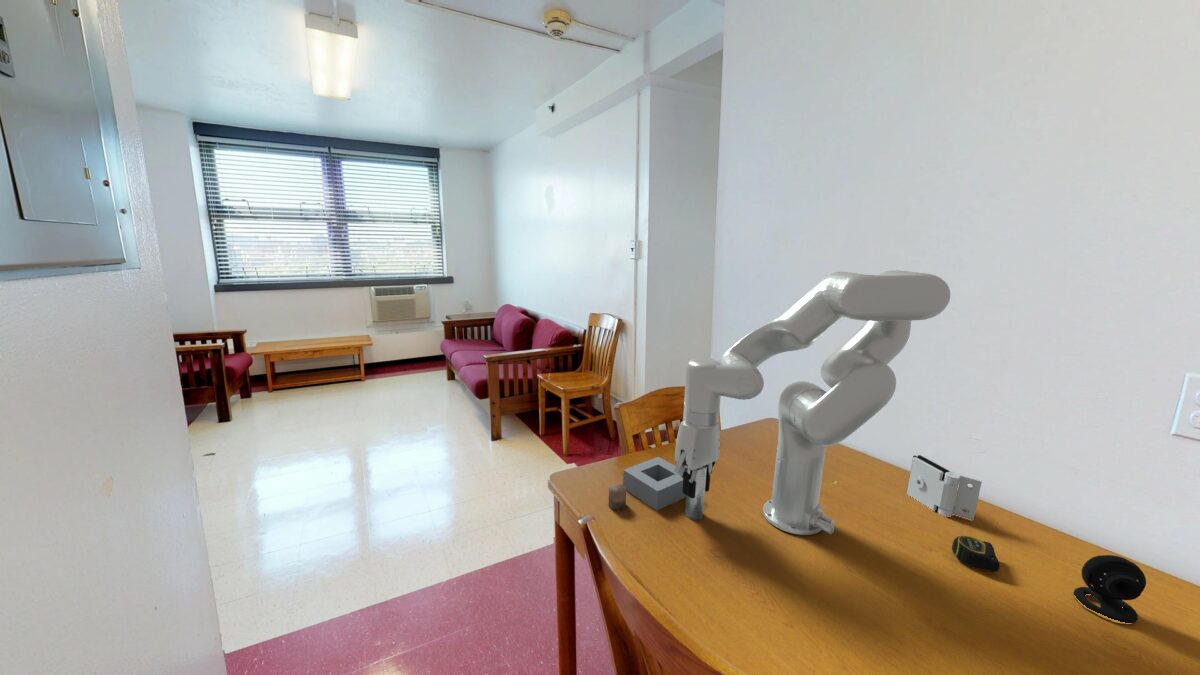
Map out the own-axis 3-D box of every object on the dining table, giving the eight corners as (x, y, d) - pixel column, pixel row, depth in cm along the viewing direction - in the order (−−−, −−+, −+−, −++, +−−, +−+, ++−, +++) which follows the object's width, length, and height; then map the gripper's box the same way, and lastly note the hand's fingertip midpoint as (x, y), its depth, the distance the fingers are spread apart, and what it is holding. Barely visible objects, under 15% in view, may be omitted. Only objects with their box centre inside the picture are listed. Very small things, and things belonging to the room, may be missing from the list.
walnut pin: (629, 506, 105) (629, 489, 104) (615, 512, 103) (616, 494, 102) (618, 498, 108) (618, 481, 107) (605, 504, 106) (605, 487, 105)
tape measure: (997, 579, 85) (1002, 562, 84) (952, 564, 88) (955, 548, 87) (991, 558, 90) (995, 542, 89) (948, 545, 94) (952, 529, 93)
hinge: (975, 521, 102) (983, 481, 100) (960, 526, 100) (969, 485, 98) (913, 490, 115) (919, 453, 112) (899, 494, 113) (905, 457, 110)
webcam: (1088, 617, 76) (1103, 566, 74) (1062, 586, 83) (1075, 538, 81) (1150, 632, 73) (1168, 579, 71) (1118, 598, 80) (1133, 549, 78)
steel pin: (706, 515, 102) (710, 467, 100) (695, 522, 100) (698, 472, 97) (693, 507, 105) (696, 460, 103) (681, 513, 103) (684, 465, 100)
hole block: (691, 494, 111) (693, 475, 110) (656, 510, 104) (657, 491, 102) (657, 474, 120) (658, 456, 119) (622, 488, 113) (623, 469, 112)
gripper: (712, 402, 105) (706, 474, 109) (661, 418, 95) (657, 496, 99) (739, 412, 99) (732, 487, 103) (687, 430, 90) (682, 513, 93)
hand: (695, 491), depth 101 cm, fingers closed on steel pin, 4 cm apart
